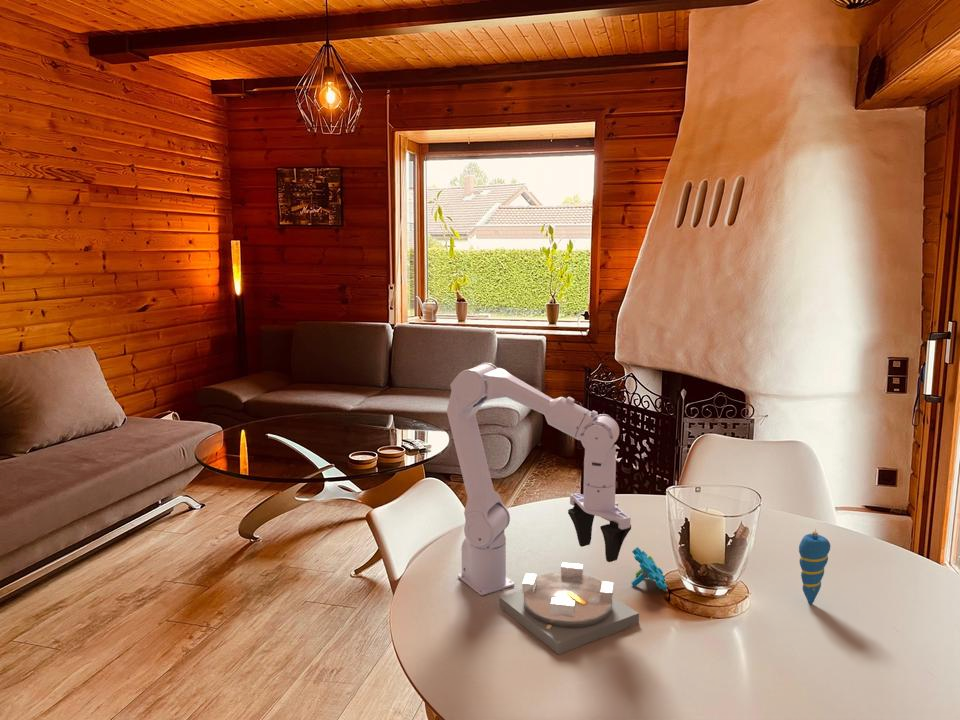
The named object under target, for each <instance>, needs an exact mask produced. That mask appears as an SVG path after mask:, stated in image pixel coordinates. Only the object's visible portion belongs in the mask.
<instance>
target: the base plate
mask: <svg viewBox="0 0 960 720" xmlns="http://www.w3.org/2000/svg"><path fill="white" fill-rule="evenodd" d="M498 597H499V602H498V603H499V606H498V607H499V608H500V609H502V610H503V611H504V612H505V613H507V614H508V615H509V617H511V618H513V619H514V620H515V621H516V622H518V623H519V624H520V625H521V626H522V627H524V628H525V629H526V630H528V631H529V632H530V633H531V634H532V635H534V636H535V637H536V638H537V639H538V640H540V641H541V642H542V643H544V644H545V645H546V646H547V647H548V648H549V649H551V650H552V651H553V652H554V653H556V654H557V655H560V654H563V653H566V652H568V651H571V650H573V649H576V648H578V647H581V646H584V645H586V644H590V643H592V642H595V641H597V640H600V639H602V638H604V637H607V636H610V635H613V634H615V633H618V632H621V631H622V630H626V629H627V628H630V627H634V626H636V625H638V624H640V623H639V622H640V612H638V611H637V610H635V609H633V608H632V607H630V606H629V605H628V604H625V603H624V602H622V601H620V600H619V599H618V598H616V597H614V596H613V597H612V611H611V613H610V615H609V616H608V617H607V618H606V619H604V620H602V621H601V622H598V623H596V624H593V625H589V626H582V627H563V626H556V625H552V624H548V623H545V622H543V621H540V620H538V619H536V618H535V617H533V616H532V615H531V614H530V613H528V611H527V610H526V608H525V606H524V593H522V589H520V590H517V591H513V592H511V593H506V594H504V595H502V596H498Z"/></svg>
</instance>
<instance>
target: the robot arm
mask: <svg viewBox="0 0 960 720" xmlns="http://www.w3.org/2000/svg"><path fill="white" fill-rule="evenodd" d="M449 385H450V390H451V392H450V396H449V399H448V404H447V408H446V412H447V417H448V418H447V419H448V423H449V426H450V430H451V431H450V432H451V435H452V439H453V442H454V446H455V451H456V455H457V459H458V460H457V461H458V462H459V466H460V467H459V468H460V471H461V475H462V479H463V480H462V481H463V484H464V488H465V492H466V496H467V500H466V503H465V507H464V511H463V513H464V519H465V523H464V527H463V533H464V536H465V538H464V539H463V541H462V544H461V549H460V550H461V573H458V574H457V577H458V578H459V579H460V580H461V581H463V583H465V584H466V585H468V586H469V587H470V588H471V589H472V590H473V591H475V592H476V593H477V594H479V595H480V596H484V595H488V594H491V593H494V592H499V591H501V590H505V589H507V588H510V587H513V586H514V587H515V582H514V581H512V580H511V579H510V578H509V577H507V574H506V573H507V569H506V567H507V565H506V563H507V561H506V560H507V559H506V558H507V554H506V553H507V551H506V550H507V549H506V548H507V547H506V546H507V545H506V544H507V542H506V540H507V538H506V535H505V530H506V529H507V528H508V527H509V525H510V521H511V515H510V511H509V510H508V508H507V507H506V506H505V504H504V503H503V499H502V496H501V494H499V493H498V492H497V491H496V490H495V489H494V485H493V481H492V480H493V479H492V477H491V472H490V469H489V465H488V460H487V456H486V453H485V452H486V451H485V447H484V443H483V440H482V435H481V432H480V427H479V424H478V418H477V413H478V411H479V410H480V408H481V407H482V405H483V404H484V403H485V401H486V400H493V399H494V400H495V399H501V398H507V399H510V400H512V401H514V402H517V403H519V404H521V405H523V406H525V407H526V408H528V409H531V410H533V411H535V412H537V413H540V414H542V415H544V417H545V421H546V422H547V425H549V426H551V427H553V428H555V429H557V430H559V431H560V432H562V433H564V434H566V435H567V436H570V437H572V438H574V439H575V440H577V441H580V443H581V445H582V447H583V448H584V457H583V459H584V460H583V493H582V494H581V493H580V492H575V493H572V494H569V495H570V496H569V504H570V505H571V506H573V507H572V508H569V509H568V510H567V513H568V515H569V517H570V519H571V521H572V524H573V525H574V526H573V527H574V528H575V532H576V533H575V534H576V537H577V540H578V543H579V544H578V546H579V547H585V546H589V545H591V542H592V535H593V534H592V532H593V524H594V519H595V516H596V517H599V518H601V519H604V520H605V521H607V522H609V523H607V524H604V525H601V526H600V530H601V533H602V536H603V540H604V548H605V549H604V550H605V552H604V553H605V554H604V555H605V559H606V562H608V563H611V562H615V561H617V560H618V558H619V555H620V551H621V548H622V545H623V542H624V541H625V539H626V538H627V535H628V534H629V533H630V531H631V530H632V524H631V516H629V515H627V514H626V513H624V511H622V509H620V508H619V502H618V501H616V480H617V479H616V476H617V475H616V474H617V473H616V471H617V468H616V467H617V457H616V453H617V452H616V451H617V450H616V448H617V447H616V446H617V445H616V444H615V443H616V442H617V440H618V438H619V436H620V427H619V424H618V422H617V421H616V420H615V419H614V418H613V417H611V416H610V415H609V414H606V413H602V414H601V413H600V414H598V411H596V410H594V409H593V410H592V411H591V410H589V409H587V408H585V407H583V406H582V405H579V404H577V403H575V401H576V400H575V399H574V398H573V397H571V396H568V397H563V396H559V397H557V398H552V397H551V396H549V395H547V394H545V393H544V392H542V391H540V390H538V389H537V388H534V387H533V386H532V385H530V384H529V383H526V382H525V381H523V380H521V379H519V378H518V377H516V376H515V375H513V374H511V373H510V372H508V371H507V369H504V368H501V367H497V366H496V365H494V364H493V363H491V362H482V363H480V364H478V365H476V366H475V367H472V368H469V369H464V370H462V371H460V372H458V374H457V375H456V377H454V379H453V380H452V382H451V383H450V384H449Z"/></svg>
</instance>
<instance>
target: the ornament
mask: <svg viewBox="0 0 960 720" xmlns="http://www.w3.org/2000/svg"><path fill="white" fill-rule="evenodd" d="M830 551H831V543H830V541H829V539H827V537H825V536H822V535H819V532H818V531H817V530H816V528H815V530H814V531H812V533H807V534H805V535H804V536H803V537H802V539H801V540H800V542H799V545H798V552H799V555H800V557H799V565H800V568H801V573H800V576H801V580H802V591H803V594H804V596H805V599H806V600H807V604H809V605H813V604H814V602H815V599H816V598H817V596H818V594H819V592H820V590H821V587H822V579H823V577H824V575H825V568H826V565H827V564H828V562H829V556H828V555H829V553H830Z"/></svg>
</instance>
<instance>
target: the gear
mask: <svg viewBox="0 0 960 720" xmlns="http://www.w3.org/2000/svg"><path fill="white" fill-rule="evenodd" d="M631 552H632V554H634V556H633V557H634V559H635V561H636V562H638V563H639V568H640V569H639V570H638V571H636V572H635V576H636V578H635V579H634V580H633V581H631V585H632V587H634V588H636V587H637V586H638V585H639V584H640V583H641V582H642V581H644V580H645V579H649V580H650V581H652V582H653V581H654V580H655V584H656V586H657V587H658V588H659V590H661V589H662V590H663V591H664V592H665V590H666V589H667V585H666V583H665V582H664V581H665V579H664V578H665V577H666V576H665V575H664V571H663V570H662V569H661V568H660V567H658V566H657V564H656V562H655V561H654V557H652V555H648V554H647V553H646V552H645V550H641V549H640V548H639V547H636V548H634V549H633V550H632V551H631Z"/></svg>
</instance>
